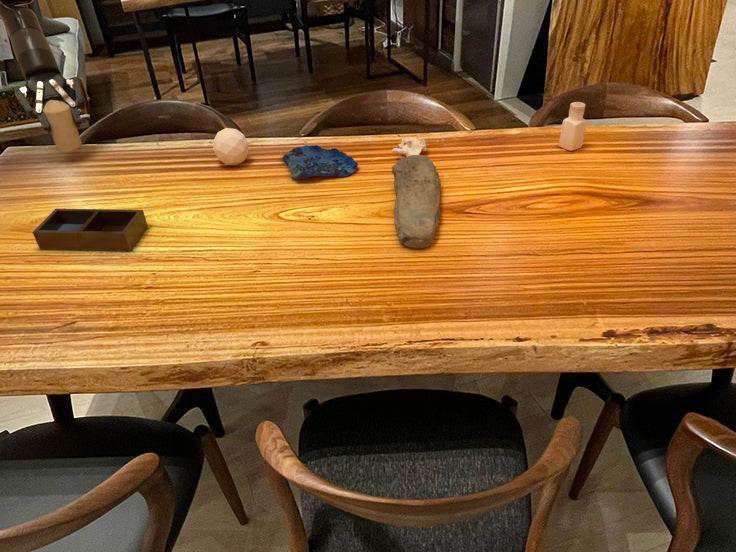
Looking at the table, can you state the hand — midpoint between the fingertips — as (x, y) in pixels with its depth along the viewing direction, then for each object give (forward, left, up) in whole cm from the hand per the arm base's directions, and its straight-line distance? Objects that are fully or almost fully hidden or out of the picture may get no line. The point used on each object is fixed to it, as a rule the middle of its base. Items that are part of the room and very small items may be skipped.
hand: (63, 128), depth 138 cm
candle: (-1, +1, -5) cm, 5 cm away
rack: (+19, -34, -8) cm, 39 cm away
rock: (+56, -1, -8) cm, 57 cm away
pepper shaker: (+113, +10, -8) cm, 114 cm away
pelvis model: (+77, +5, -8) cm, 78 cm away
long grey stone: (+79, -19, -8) cm, 82 cm away
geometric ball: (+37, 0, -8) cm, 38 cm away
